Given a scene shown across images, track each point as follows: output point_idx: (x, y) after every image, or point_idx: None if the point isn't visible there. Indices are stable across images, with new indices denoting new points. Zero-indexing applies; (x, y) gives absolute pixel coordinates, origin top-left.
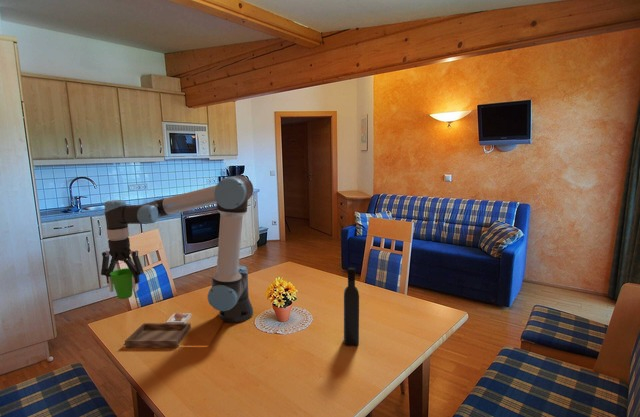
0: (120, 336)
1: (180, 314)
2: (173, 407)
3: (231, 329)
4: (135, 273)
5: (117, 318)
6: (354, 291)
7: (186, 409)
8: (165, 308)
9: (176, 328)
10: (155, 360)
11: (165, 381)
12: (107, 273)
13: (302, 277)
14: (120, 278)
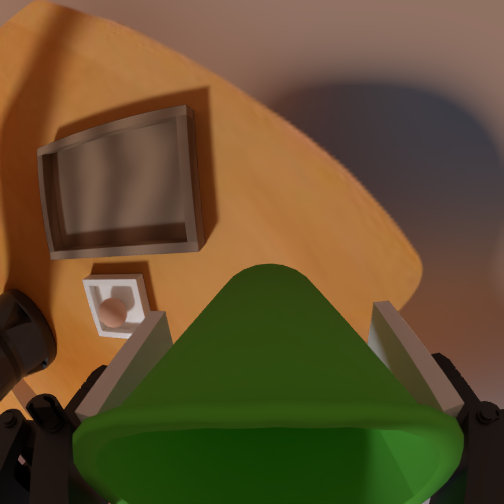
0: (268, 184)
1: (99, 311)
2: (25, 11)
3: (2, 257)
4: (36, 438)
5: (365, 318)
6: None
7: (12, 18)
8: None
9: (89, 245)
10: (75, 80)
11: (40, 39)
12: (489, 440)
13: None
14: (180, 371)
